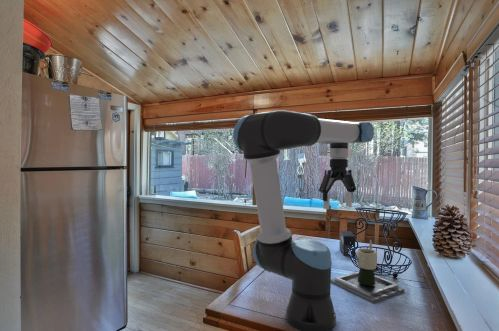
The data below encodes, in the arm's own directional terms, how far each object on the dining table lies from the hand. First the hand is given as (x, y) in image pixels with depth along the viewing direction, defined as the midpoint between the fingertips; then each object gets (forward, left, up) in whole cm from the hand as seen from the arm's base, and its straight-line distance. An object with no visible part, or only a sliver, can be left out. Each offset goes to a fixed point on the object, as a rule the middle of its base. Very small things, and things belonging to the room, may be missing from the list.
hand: (337, 207), depth 128 cm
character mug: (0, -15, -28) cm, 32 cm away
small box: (+27, +18, -29) cm, 43 cm away
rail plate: (0, -15, -29) cm, 32 cm away
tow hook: (+21, 0, -29) cm, 36 cm away
